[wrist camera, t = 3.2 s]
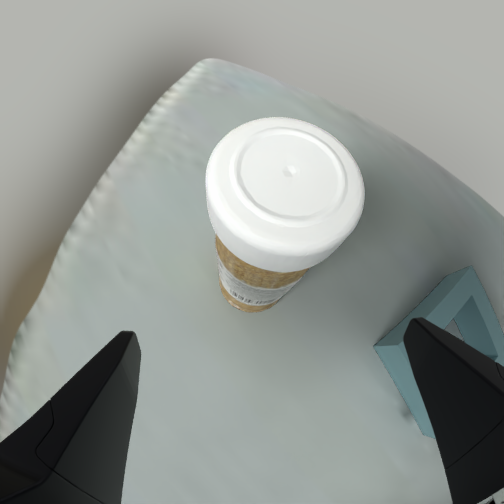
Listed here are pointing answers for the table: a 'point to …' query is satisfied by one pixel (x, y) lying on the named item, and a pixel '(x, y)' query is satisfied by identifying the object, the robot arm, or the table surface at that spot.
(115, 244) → the table surface
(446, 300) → the holder
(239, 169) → the sprinkles bottle
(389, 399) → the table surface
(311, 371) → the table surface
